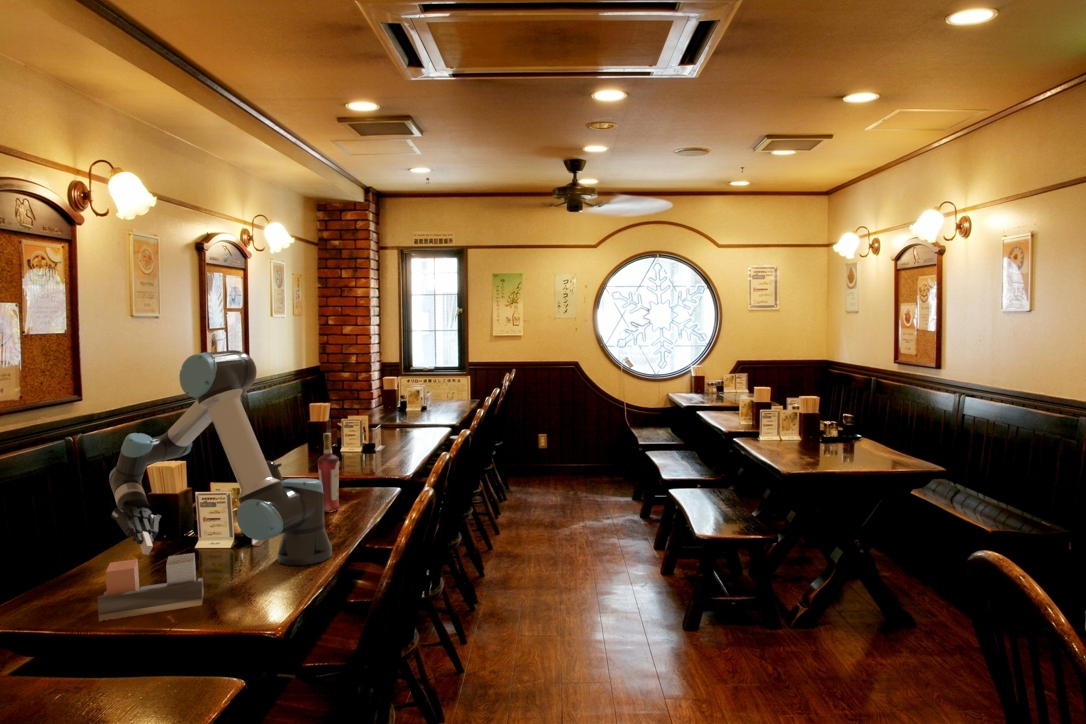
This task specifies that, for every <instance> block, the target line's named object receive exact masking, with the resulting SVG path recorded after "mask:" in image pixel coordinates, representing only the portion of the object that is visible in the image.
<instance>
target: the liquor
mask: <svg viewBox="0 0 1086 724" xmlns="http://www.w3.org/2000/svg"><path fill="white" fill-rule="evenodd" d="M322 437H323V455H321V456H319V458H317V468H318V470H317V471H318V480H319V481H321V482H322V485H323V492H324V494H323V498H324V511H332V510H337V509H338V510H339V509H340V508H341V505H340V503H339V501H340V499H339V496H340V495H339V493H340V491H339V490H340V489H339V487H340V486H339V483H340V481H339V480H340V479H339V477H340V475H339V474H340V469H339V468H340V465H339V464H340V460H339V459H340V458H339V457H338V456H336V455H335V454H333V450H332V448H333V447H332V443H331V442H332V433H330V432H324V433H323V435H322ZM338 510H337V511H338Z"/></svg>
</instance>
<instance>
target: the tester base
mask: <svg viewBox="0 0 1086 724" xmlns="http://www.w3.org/2000/svg"><path fill="white" fill-rule="evenodd" d="M203 598H204V579H203V577H199V578H197V581H196V582H192V583H185V584H179V585H172V586H167V582H163V583H157V584H152V585H151V584H149V585H144V586H143V585H142V586H140V587H139V590H138V591H131V592H125V593H118V594H111V595H107V591H104V593H103V595H99V596H97V611H98V612H97V614H98V622H104V621H103V620H105V621H109V619H111V620H117V619H122V617H123V618H128V617H129V616H130V617H135V616H140V615H148V614H154V613H161V612H165V611H166V612H167V611H172V610H173V611H174V610H179V609H184V608H190V607H193V608H194V607H198V606H199V607H200V606H202V605H203Z"/></svg>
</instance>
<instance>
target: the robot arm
mask: <svg viewBox="0 0 1086 724" xmlns="http://www.w3.org/2000/svg"><path fill="white" fill-rule="evenodd" d="M257 372H258V371H257V366H256V363H255V361H254V359H253V358H252V357H251V356H250V355H248V354H247V353H245V352H243V351H241V350H235V349H234V350H233V349H232V350H231V349H230V350H223V351H222V350H221V351H210V352H208V351H203V352H201V353H195V354H192V355H190V356H188V357H187V358H186V359H185V360H184V362H183V363H182V365H181V369H180V370H179V376H178V377H179V378H178V379H179V385H180V387H181V390H182V391H183V393H185V394H186V395H188V396H189V397H190V398H194V399H195V398H196V400H195V402H194V403H193V404H192V405H191V406H190V407H189V408H188V409H187V410H186V411H185V412H184V413H183V414H182V415H181V417H179V418H178V420H176V422H175V423H174V424H173V425H172V426H171V427H170V428H169V429H168V430H167V431H166V432H165V433H163V434H162V435H159V436H155V437H151V436H150V435H148V434H146V433H141V432H139V433H137V432H133V433H129V434H128V435H127V436H125V439H124V440H123V443H122V445H121V448H120V453H119V457H118V461H117V463H116V466H114V468H112V470H111V471H110V473H109V478H108V479H109V486H110V488H111V491H112V493H113V496H114V499H115V503H116V508H114V510H113V511H112V513H111V516H110V517H111V518H112V519H113V520H114V521H115V522H116V523H117V524H118V526H119V527H120V528H121V530H122V532H123V533H124V534H125V536H126V537H129V538H130V537H131V536H132V537H133V538H132V541H133V542H136V544H137V545H139V547H140V550H141V553H142V555H147V556H148V555H149V554H150V553H151V551H152V549H153V547H154V546H153V542H154V540H155V538H156V537H157V535H158V533H159V524H160V523H159V522H160V519H161V518H162V515H161V514H156V515H154V514H153V512H152V511H151V510H150V505H149V501H148V499H147V495H146V493H145V490H144V487H143V484H142V480H143V477H144V474H145V472H146V471H145V470H146V468H147V465H151V464H155V463H159V462H163V461H167V460H168V461H169V460H170V459H171V460H172V459H177V458H181V457H183V456H185V455H187V454H189V453H190V452H191V450H192V447H193V441H194V440H195V439H196V438H197V437H198V436H200V434H201V433H202V432H204V430H205V429H206V428H207V427H209V425H210V424H211V423H213V425H214V428H215V431H216V433H217V435H218V437H219V440H220V443H221V445H222V447H223V450H224V452H225V454H226V457H227V460H228V462H229V464H230V468H231V469H232V472H233V474H234V476H235V478H236V481H237V483H238V486H239V489H240V492H239V495H238V497H237V499H238V502H239V506H237V507H238V508H237V509H236V513H237V514H236V515H235V517H236V518H235V519H236V523H237V526H238V527H239V529H240V530H241V532H242V534H244V535H245V536H246V537H248V538H250V539H253V540H255V541H259V542H260V541H266V540H269V539H273V538H275V537H278V536H279V535H281V534H282V536H281V539H280V543H279V546H278V550H277V552H276V553H277V555H276V556H277V562H278V563H279V562H280V563H282V564H281V565H283V564H285V566H288V565H303V566H308V564H310V565H314V563H315V564H318V562H319V563H321V562H324V561H326V560H328V559H329V558H331V557H332V556H333V547H332V544H331V541H330V539H329V537H328V534H327V531H326V527H325V512H324V498H323V494H324V492H323V485H322V482H321V481H319V479H317V478H304V477H303V478H300V477H299V478H287V479H282V480H283V481H280V480H278V479H275V478H273V477H272V475H271V472H270V470H269V468H268V465H267V463H266V461H267V460H266V459H265V456H264V454H263V452H262V449H261V447H260V444H259V442H258V440H257V437H256V435H255V432H254V430H253V427H252V425H251V422H250V421H249V417H248V415H247V413H246V411H245V409H244V406H243V403H242V401H241V397H243V396H244V394H245V393H247V392H248V391H249V389H250V388H251V387H252V386H253V384H254V382H255V380H256V379H257V378H256V377H257ZM149 519H150V520H149ZM149 521H150V523H149ZM280 563H279V564H280Z"/></svg>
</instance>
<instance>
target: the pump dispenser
mask: <svg viewBox="0 0 1086 724" xmlns="http://www.w3.org/2000/svg"><path fill="white" fill-rule="evenodd" d="M265 461H266V463H267V465H268V468H269V470H270V472H271V475H272V477H273V478H275V479H278V480H280V481H283V480H284V479H283V477H282V473H281V471H280V469H279V468H280V467H281V466H282V463H281V462H280V463H277V464H276V462H274V461H271V460H265Z"/></svg>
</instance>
